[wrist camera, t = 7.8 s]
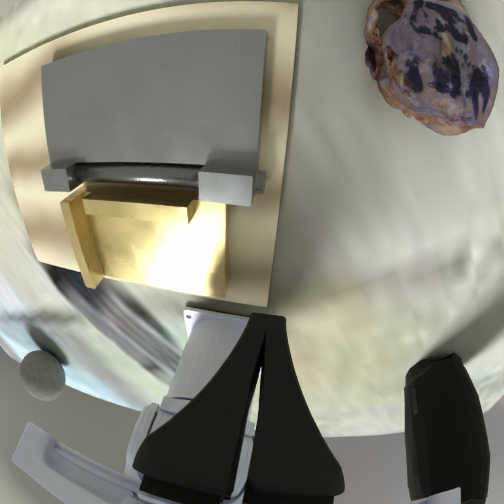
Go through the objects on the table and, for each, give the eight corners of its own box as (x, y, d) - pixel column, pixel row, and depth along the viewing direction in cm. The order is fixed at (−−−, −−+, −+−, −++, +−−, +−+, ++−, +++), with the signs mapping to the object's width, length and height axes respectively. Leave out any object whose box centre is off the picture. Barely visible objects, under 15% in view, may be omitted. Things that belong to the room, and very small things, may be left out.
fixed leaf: (265, 191, 18) (260, 207, 16) (59, 178, 19) (41, 191, 17) (277, 33, 12) (273, 26, 10) (47, 66, 13) (25, 70, 12)
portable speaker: (473, 361, 26) (499, 498, 10) (415, 394, 31) (425, 522, 15) (452, 338, 24) (485, 509, 8) (385, 377, 29) (391, 534, 13)
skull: (364, -58, 7) (388, -101, 2) (471, -14, 7) (523, -28, 2) (350, 103, 14) (377, 117, 9) (456, 136, 14) (510, 168, 9)
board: (267, 302, 24) (266, 307, 23) (41, 257, 26) (38, 261, 26) (298, 6, 11) (298, 3, 11) (3, 67, 13) (-2, 68, 13)
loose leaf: (228, 288, 23) (219, 315, 20) (102, 265, 24) (86, 286, 21) (229, 193, 18) (218, 215, 16) (82, 184, 19) (59, 201, 17)
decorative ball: (39, 354, 45) (19, 388, 37) (30, 332, 40) (5, 370, 32) (75, 378, 47) (56, 415, 39) (70, 359, 41) (47, 401, 33)
